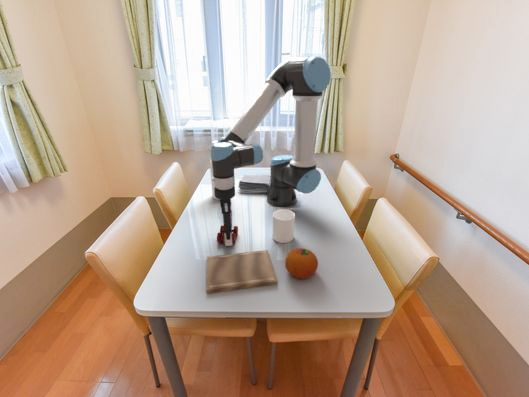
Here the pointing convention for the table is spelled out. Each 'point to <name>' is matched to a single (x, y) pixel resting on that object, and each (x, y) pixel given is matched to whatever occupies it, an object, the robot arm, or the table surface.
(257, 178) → the towel
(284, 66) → the robot arm
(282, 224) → the mug
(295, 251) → the fruit
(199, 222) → the table surface
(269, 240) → the table surface
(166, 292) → the table surface
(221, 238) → the toy fire truck
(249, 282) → the board
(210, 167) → the bottle
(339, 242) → the table surface
